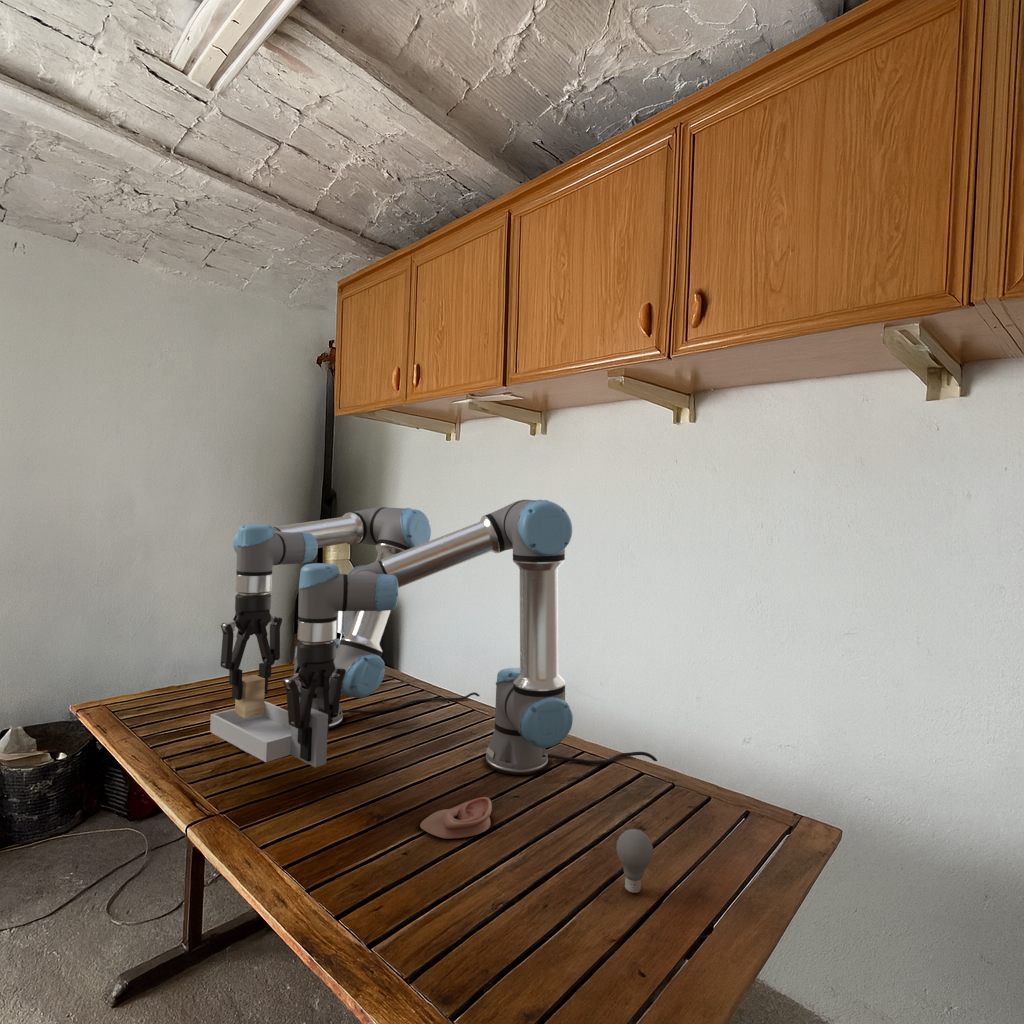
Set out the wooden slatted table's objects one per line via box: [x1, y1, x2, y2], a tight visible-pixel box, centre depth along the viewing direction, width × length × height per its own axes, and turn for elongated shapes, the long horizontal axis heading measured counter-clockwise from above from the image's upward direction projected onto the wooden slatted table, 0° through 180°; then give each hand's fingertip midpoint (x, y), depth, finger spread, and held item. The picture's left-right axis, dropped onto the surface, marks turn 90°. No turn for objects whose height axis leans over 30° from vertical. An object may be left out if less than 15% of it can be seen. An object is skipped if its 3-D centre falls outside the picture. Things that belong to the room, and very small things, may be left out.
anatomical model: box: [419, 796, 493, 840], centre depth 124 cm, size 13×4×12 cm
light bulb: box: [615, 828, 654, 894], centre depth 106 cm, size 6×6×10 cm
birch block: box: [234, 674, 266, 718], centre depth 143 cm, size 4×4×8 cm
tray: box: [209, 700, 328, 769], centre depth 136 cm, size 32×13×10 cm, turn 51°
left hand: (249, 695), depth 143 cm, fingers open, 5 cm apart
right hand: (312, 756), depth 128 cm, fingers closed on tray, 2 cm apart
